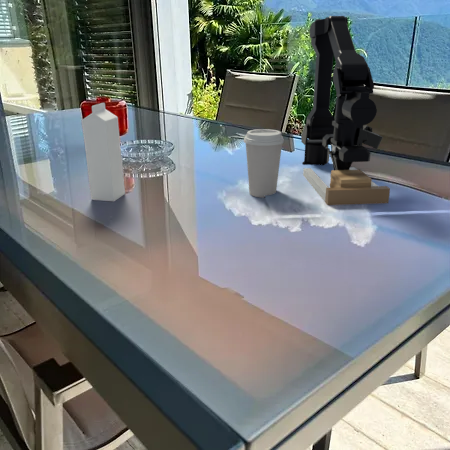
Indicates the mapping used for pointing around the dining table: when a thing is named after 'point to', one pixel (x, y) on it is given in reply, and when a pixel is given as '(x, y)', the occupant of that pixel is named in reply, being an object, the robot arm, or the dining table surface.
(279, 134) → the coffee cup
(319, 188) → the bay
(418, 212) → the dining table surface
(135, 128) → the dining table surface
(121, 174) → the milk
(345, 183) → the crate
